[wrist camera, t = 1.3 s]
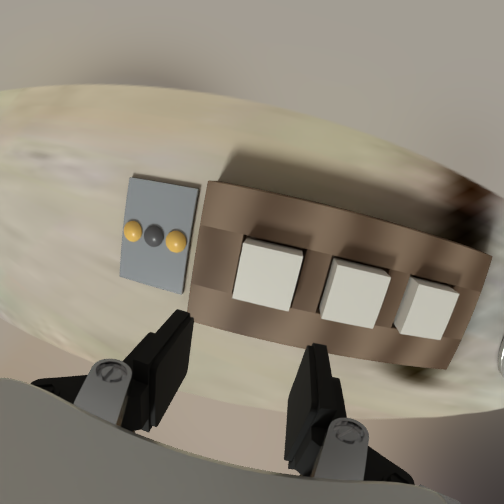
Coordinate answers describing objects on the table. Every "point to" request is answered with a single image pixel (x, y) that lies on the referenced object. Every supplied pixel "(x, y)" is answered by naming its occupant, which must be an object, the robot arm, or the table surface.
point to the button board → (327, 274)
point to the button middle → (354, 293)
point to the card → (157, 233)
